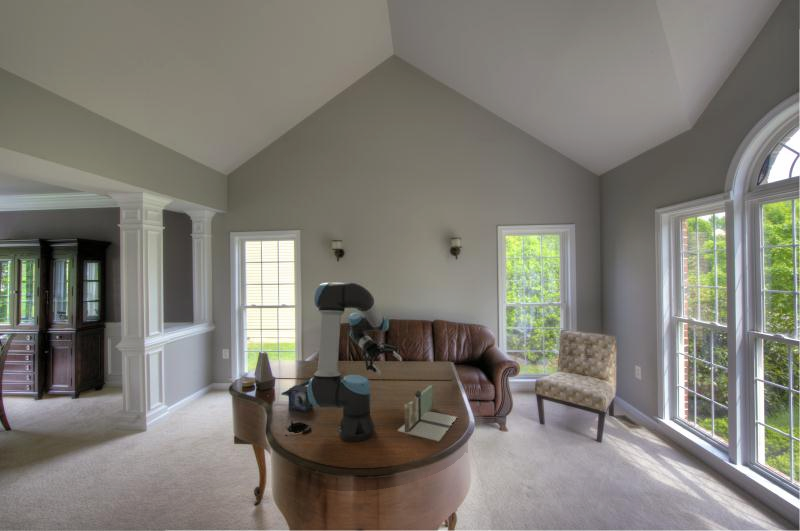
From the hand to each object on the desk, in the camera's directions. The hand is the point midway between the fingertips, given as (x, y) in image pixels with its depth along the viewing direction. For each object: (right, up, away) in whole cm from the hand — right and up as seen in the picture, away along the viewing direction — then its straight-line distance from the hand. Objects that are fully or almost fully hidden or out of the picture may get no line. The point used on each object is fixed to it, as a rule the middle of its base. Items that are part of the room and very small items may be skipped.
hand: (391, 366), depth 167 cm
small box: (-46, -21, -3) cm, 50 cm away
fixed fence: (+10, -20, -22) cm, 31 cm away
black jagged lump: (-41, -21, -26) cm, 52 cm away
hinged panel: (+17, -19, -9) cm, 27 cm away
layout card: (+17, -20, -21) cm, 33 cm away
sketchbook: (-47, -22, +26) cm, 58 cm away
